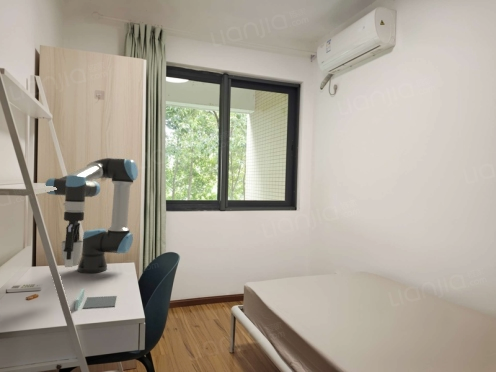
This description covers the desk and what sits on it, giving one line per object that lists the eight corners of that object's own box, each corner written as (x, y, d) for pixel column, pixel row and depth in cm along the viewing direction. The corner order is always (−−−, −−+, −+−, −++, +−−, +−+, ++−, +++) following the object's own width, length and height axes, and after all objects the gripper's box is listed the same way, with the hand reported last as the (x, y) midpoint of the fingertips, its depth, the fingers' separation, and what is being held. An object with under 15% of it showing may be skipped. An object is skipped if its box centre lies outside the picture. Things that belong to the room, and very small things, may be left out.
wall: (81, 297, 140) (81, 288, 140) (83, 297, 140) (84, 288, 140) (75, 310, 127) (75, 300, 127) (77, 310, 127) (78, 300, 127)
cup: (85, 264, 139) (87, 241, 139) (69, 268, 131) (70, 244, 131) (72, 261, 142) (73, 239, 142) (55, 265, 134) (57, 241, 134)
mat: (87, 298, 140) (87, 297, 140) (116, 296, 144) (116, 295, 144) (82, 308, 128) (82, 307, 128) (114, 306, 132) (114, 305, 132)
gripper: (70, 208, 145) (67, 258, 145) (57, 213, 126) (54, 270, 126) (88, 209, 148) (85, 258, 148) (78, 213, 128) (75, 270, 128)
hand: (71, 264), depth 137 cm, fingers closed on cup, 8 cm apart
